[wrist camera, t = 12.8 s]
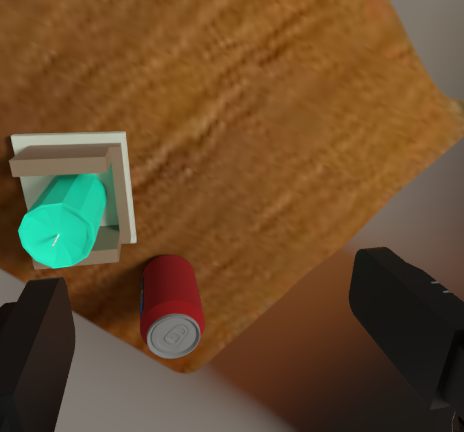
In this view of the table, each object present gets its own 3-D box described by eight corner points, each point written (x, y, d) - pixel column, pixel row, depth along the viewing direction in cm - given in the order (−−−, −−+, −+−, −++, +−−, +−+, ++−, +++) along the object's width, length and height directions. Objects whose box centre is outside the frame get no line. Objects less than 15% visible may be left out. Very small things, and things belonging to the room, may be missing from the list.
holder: (13, 134, 37) (-14, 149, 31) (125, 131, 39) (121, 145, 33) (39, 246, 42) (20, 279, 36) (136, 238, 45) (134, 268, 38)
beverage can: (130, 279, 47) (124, 345, 36) (164, 241, 46) (169, 298, 35) (171, 304, 49) (177, 373, 39) (204, 269, 48) (220, 330, 38)
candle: (103, 223, 42) (87, 281, 31) (46, 215, 40) (9, 272, 29) (111, 174, 40) (97, 217, 29) (51, 163, 38) (13, 204, 27)
